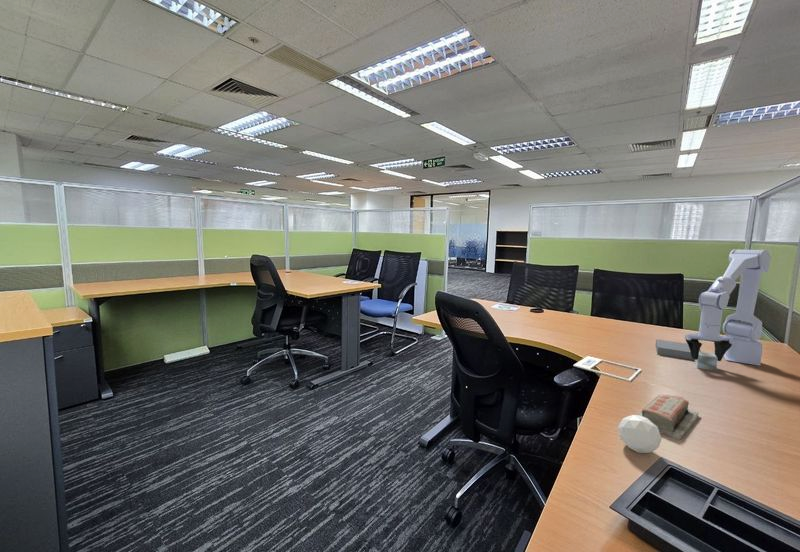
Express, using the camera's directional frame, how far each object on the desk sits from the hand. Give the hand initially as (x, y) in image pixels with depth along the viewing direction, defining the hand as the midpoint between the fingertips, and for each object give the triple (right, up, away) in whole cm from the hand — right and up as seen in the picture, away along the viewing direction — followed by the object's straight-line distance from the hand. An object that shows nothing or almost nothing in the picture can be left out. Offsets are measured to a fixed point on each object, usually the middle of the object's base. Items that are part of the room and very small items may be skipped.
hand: (706, 359), depth 123 cm
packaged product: (-44, -7, -36) cm, 58 cm away
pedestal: (+2, -1, +16) cm, 16 cm away
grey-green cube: (0, -3, 0) cm, 3 cm away
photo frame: (-38, -3, -2) cm, 38 cm away
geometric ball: (-61, -8, -49) cm, 79 cm away
